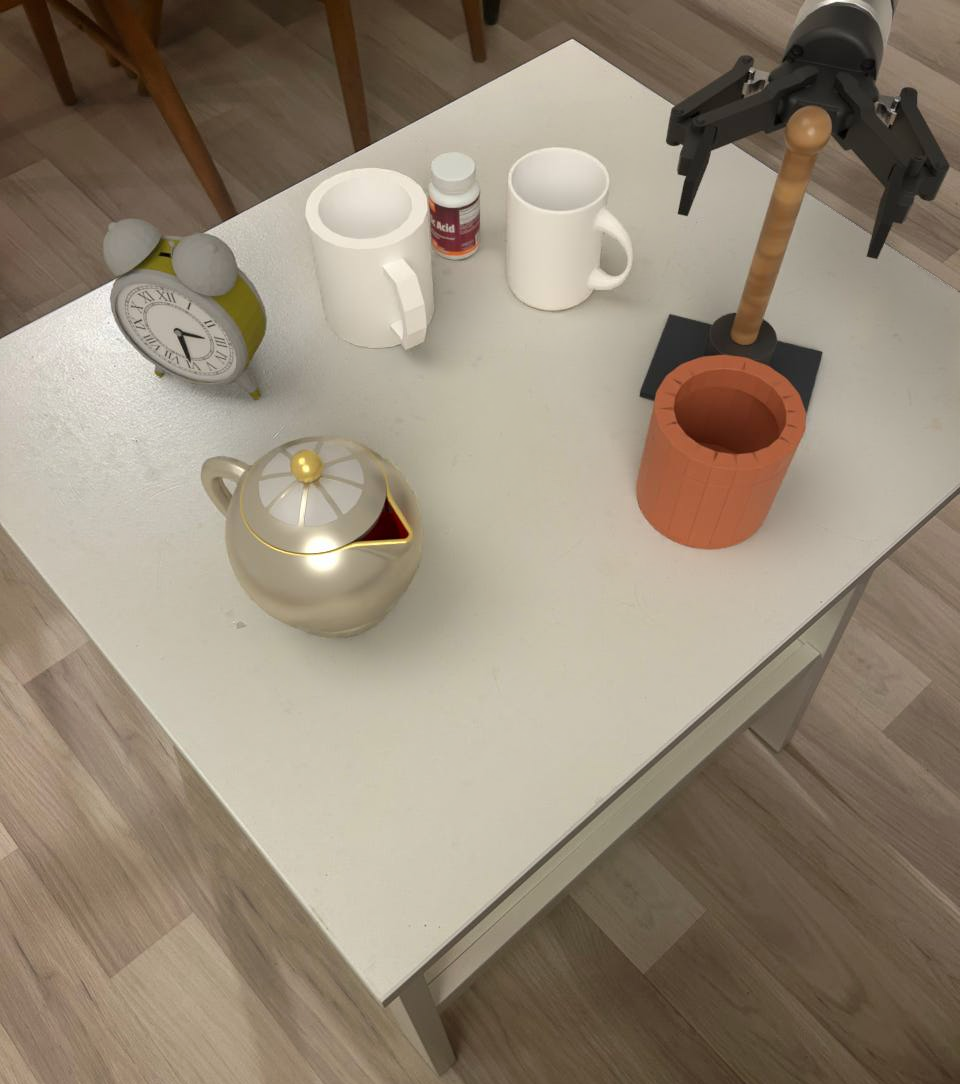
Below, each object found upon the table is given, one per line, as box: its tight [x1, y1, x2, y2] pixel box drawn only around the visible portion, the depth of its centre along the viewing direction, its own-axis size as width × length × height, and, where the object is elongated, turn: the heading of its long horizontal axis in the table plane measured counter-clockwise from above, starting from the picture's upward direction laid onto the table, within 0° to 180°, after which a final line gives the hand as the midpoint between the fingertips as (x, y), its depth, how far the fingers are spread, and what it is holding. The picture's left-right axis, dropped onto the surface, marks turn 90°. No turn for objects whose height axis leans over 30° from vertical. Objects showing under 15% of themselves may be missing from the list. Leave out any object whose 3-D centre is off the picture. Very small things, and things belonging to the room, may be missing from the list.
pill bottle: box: [427, 151, 481, 261], centre depth 87 cm, size 5×5×8 cm
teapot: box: [200, 435, 424, 639], centre depth 65 cm, size 18×14×16 cm
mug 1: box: [305, 167, 435, 351], centre depth 81 cm, size 14×10×11 cm
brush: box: [703, 106, 832, 366], centre depth 71 cm, size 6×6×24 cm
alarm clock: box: [102, 218, 268, 400], centre depth 76 cm, size 12×7×15 cm, turn 73°
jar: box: [635, 355, 807, 550], centre depth 72 cm, size 11×11×10 cm
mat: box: [639, 313, 824, 415], centre depth 82 cm, size 14×10×1 cm
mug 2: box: [505, 146, 634, 312], centre depth 83 cm, size 9×12×11 cm
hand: (780, 220), depth 65 cm, fingers open, 13 cm apart
